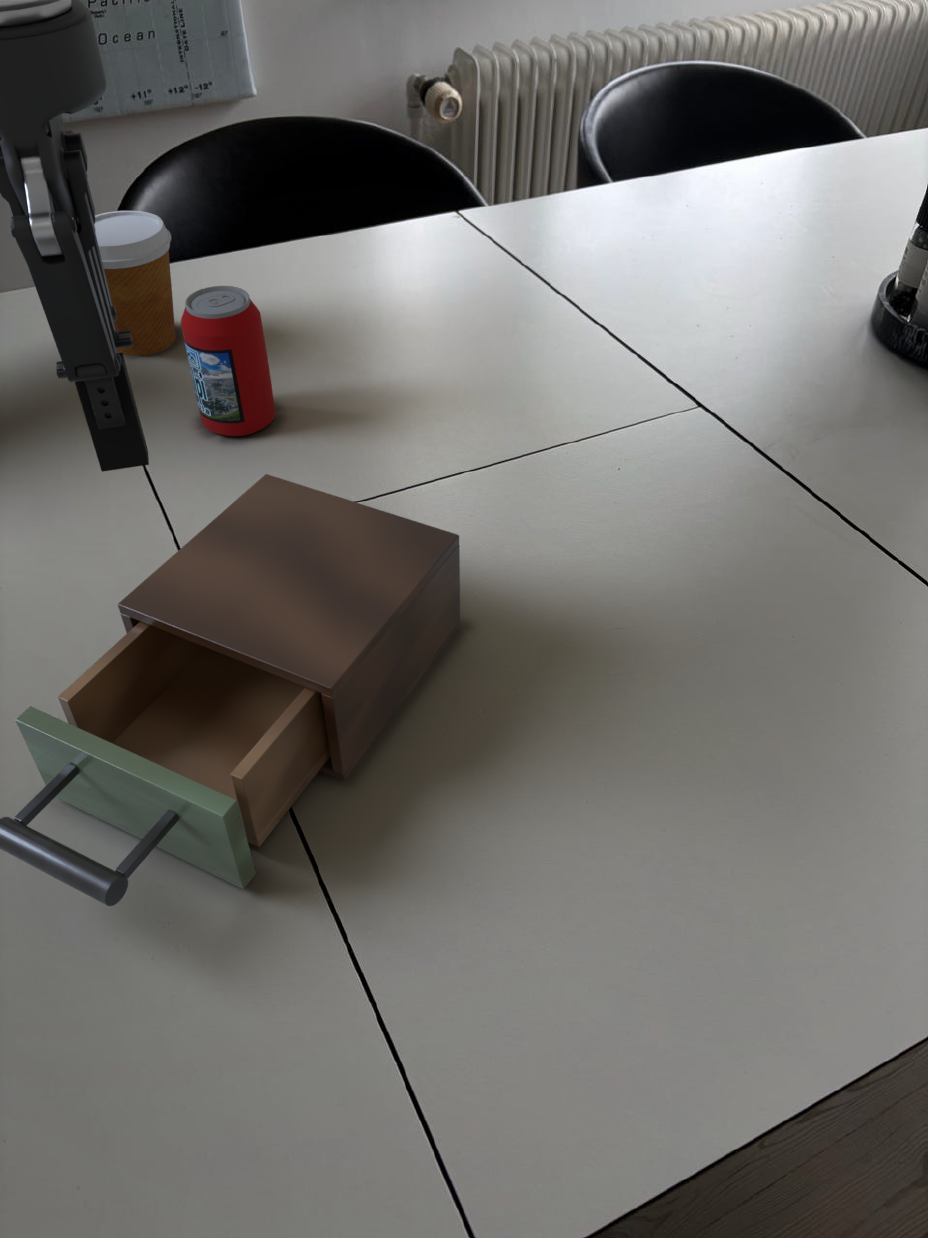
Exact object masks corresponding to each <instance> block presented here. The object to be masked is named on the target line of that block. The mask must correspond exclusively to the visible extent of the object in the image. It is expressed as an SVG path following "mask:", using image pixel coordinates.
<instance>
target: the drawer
mask: <svg viewBox="0 0 928 1238" xmlns="http://www.w3.org/2000/svg"><path fill="white" fill-rule="evenodd" d="M321 694H322V693H320V692H317V691H315V690H312V689H310V688H307V687H305V686H302V685H300V684H297V683H295V682H292V681H290V680H287V679H285V678H282V677H280V676H277V675H275V674H272V673H269V672H267V671H264V670H262V669H259V668H257V667H254V666H252V665H249V664H247V663H244V662H242V661H239V660H237V659H234V658H232V657H229V656H227V655H224V654H222V653H219V652H217V651H214V650H212V649H209V648H207V647H204V646H202V645H199V644H197V643H194V642H192V641H189V640H187V639H184V638H181V637H179V636H176V635H174V634H171V633H169V632H166V631H164V630H161V629H159V628H156V627H154V626H151V625H149V624H146V623H144V622H141V621H140V622H139V623H138V624H137V625H136V626H135V627H134V628H132V629H131V630H130V631H129V632H128V633H126V634H125V635H124V636H123V637H121V638H120V639H119V640H118V641H117V642H116V643H114V645H112V646H111V647H110V648H109V649H108V650H107V651H106V652H105V653H104V654H103V655H102V656H101V657H99V658H98V659H97V661H95V662H94V663H93V664H92V665H91V666H89V667H88V668H87V670H85V671H84V672H83V673H82V674H81V675H79V676H78V678H76V679H75V680H74V681H73V682H72V683H71V684H70V685H69V686H67V688H65V689H64V690H63V691H62V692H61V693H60V694H59V695H58V696H57V700H58V701H59V704H60V707H61V709H62V711H63V714H64V717H65V718H66V721H64V720H63V719H61V718H57V717H56V716H53V715H51V714H49V713H46V712H44V711H42V710H41V709H38V708H36V707H33V706H31V705H30V706H29V707H28V708H26V709H25V710H24V711H23V712H22V713H21V714H19V716H18V717H16V718H15V720H14V721H15V723H16V725H17V727H18V729H19V732H20V733H21V736H22V738H23V740H24V742H25V744H26V746H27V749H28V751H29V753H30V755H31V757H32V760H33V761H34V764H35V766H36V768H37V770H38V773H39V775H40V776H41V779H42V781H43V783H44V785H45V786H44V787H43V788H41V790H40V791H39V792H38V793H37V794H35V796H34V797H33V798H32V799H31V800H30V801H29V802H28V803H27V804H26V805H25V806H24V807H23V808H22V809H20V810H19V812H18V813H17V814H16V815H14V817H10V816H3V817H0V850H1V851H3V852H4V853H7V854H9V855H11V856H12V857H15V859H18V860H20V861H22V862H24V863H26V864H27V865H30V866H31V867H33V868H35V869H37V870H39V871H41V872H43V873H45V874H46V875H48V876H50V877H52V878H54V879H56V880H58V881H60V882H62V883H63V884H65V885H68V886H69V887H71V888H73V889H74V890H77V891H78V892H81V893H82V894H85V895H86V896H88V897H90V898H91V899H94V900H96V901H98V902H100V903H101V904H103V905H105V906H107V907H113V906H116V905H117V904H118V903H119V902H121V901H122V899H123V898H124V896H125V895H126V893H127V890H128V887H129V878H130V877H131V876H132V875H133V873H134V872H135V871H136V870H137V869H138V867H139V866H140V865H141V864H142V863H143V862H144V861H145V859H147V857H148V856H149V855H150V854H151V853H152V851H153V850H154V849H155V848H159V849H160V850H162V851H164V852H167V853H169V854H171V855H173V856H174V857H177V858H178V859H180V860H182V861H185V862H186V863H189V864H191V865H193V866H195V867H197V868H199V869H201V870H203V871H205V872H207V873H209V874H212V875H213V876H215V877H218V878H219V879H221V880H223V881H226V882H228V883H229V884H231V885H234V886H236V887H237V888H240V889H241V890H244V889H245V888H246V887H247V886H248V885H249V883H250V882H251V881H252V879H253V878H254V877H255V875H256V874H257V872H256V868H255V863H254V860H253V857H252V852H251V849H250V845H253V846H255V847H257V848H260V847H261V846H262V844H263V843H264V842H265V841H266V839H267V838H268V837H269V836H270V834H271V833H272V832H273V830H275V828H276V826H278V824H279V823H280V821H281V820H282V819H283V818H284V816H285V815H286V814H287V813H288V811H289V810H290V809H291V808H292V806H293V805H294V803H296V801H297V800H298V799H299V798H300V796H301V795H302V793H303V792H304V791H305V789H306V788H307V787H308V785H310V784H311V782H312V781H313V779H314V778H315V777H316V776H317V774H318V773H319V771H321V770H320V769H321V768H322V766H323V765H324V764H325V763H326V761H327V760H328V759H329V757H330V756H331V755H330V748H329V741H328V735H327V728H326V721H325V715H324V708H323V701H322V695H321ZM55 798H57V799H59V800H61V801H63V802H65V803H67V804H68V805H71V806H73V807H75V808H77V809H79V810H81V811H83V812H85V813H87V814H89V815H91V816H93V817H95V818H97V819H99V820H102V821H103V822H105V823H108V824H110V825H112V826H114V827H115V828H118V829H119V830H122V831H124V832H126V833H127V834H130V835H132V836H134V837H135V838H138V839H140V841H139V842H137V844H136V845H135V846H134V848H133V849H132V850H131V851H129V853H128V854H127V855H126V856H125V858H124V859H123V860H121V862H120V863H119V864H118V866H116V868H115V870H114V869H112V868H110V867H108V866H106V865H104V864H102V863H100V862H99V861H96V860H95V859H92V858H90V857H89V856H86V855H85V854H82V853H80V852H78V851H77V850H75V849H73V848H71V847H68V846H67V845H65V844H63V843H61V842H59V841H58V840H55V839H53V838H51V837H49V836H47V835H45V834H43V833H42V832H39V831H38V830H36V829H34V828H32V827H29V826H28V825H29V824H30V823H31V822H33V820H34V819H35V818H36V817H37V816H38V815H39V814H40V813H41V812H42V811H43V810H44V809H45V808H46V807H47V806H48V805H49V804H50V803H51V802H52V801H53V800H54V799H55ZM249 844H250V845H249Z"/></svg>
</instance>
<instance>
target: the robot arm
mask: <svg viewBox="0 0 928 1238" xmlns="http://www.w3.org/2000/svg"><path fill="white" fill-rule="evenodd" d="M99 48H100V47H99V43H98V38H97V34H96V28H95V25H94V20H93V17H92V12H91V10H90V9H89V8H88V7H86V6H85V4H84V2H82V1H81V0H0V195H1V197H2V198H3V199H4V200H5V201H6V202H7V203H8V204H9V207H10V211H11V214H12V216H11V217H10V227H9V228H10V233H11V236H12V238H14V239H15V241H16V243H17V246H18V247H19V250H20V252H21V254H22V256H23V259H24V261H25V263H26V264H27V267H28V271H29V273H30V275H31V278H32V282H33V284H34V287H35V289H36V292H37V296H38V298H39V301H40V304H41V307H42V310H43V312H44V315H45V318H46V321H47V324H48V326H49V329H50V332H51V334H52V338H53V340H54V343H55V346H56V348H57V351H58V354H59V357H60V360H59V361H56V368H55V369H56V372H55V373H56V376H57V379H67V381H68V382H69V383H74V384H75V388H76V391H77V394H78V398H79V401H80V405H81V407H82V411H83V415H84V417H85V421H86V424H87V427H88V431H89V434H90V437H91V441H92V444H93V448H94V450H95V454H96V457H97V461H98V464H99V467H100V470H101V471H100V472H107V471H108V472H109V471H110V472H111V471H116V470H124V469H129V468H136V467H142V466H149V465H150V458H149V450H148V445H147V442H146V438H145V434H144V430H143V426H142V423H141V419H140V415H139V410H138V407H137V403H136V400H135V399H136V398H135V394H134V391H133V387H132V384H131V380H130V376H129V372H128V368H127V364H126V361H125V357H124V354H123V352H122V353H120V352H117V350H116V348H123V347H131V346H133V342H132V336H131V332H130V330H128V331H120V332H117V331H116V329H115V325H114V323H115V320H116V316H117V313H116V309H115V307H113V305H112V301H111V297H110V293H109V288H108V284H107V280H106V276H105V271H104V267H103V263H102V259H101V254H100V250H99V246H98V242H97V237H96V231H95V225H94V224H95V215H96V208H95V204H94V199H93V196H92V193H91V192H92V191H91V188H90V185H89V180H88V173H87V172H88V155H87V151H86V147H85V143H84V139H83V135H82V133H81V132H74V131H73V130H72V129H66V127H65V122H64V118H63V114H68V115H72V114H76V113H78V112H81V111H83V110H85V109H88V108H89V107H91V106H94V105H95V104H96V103H97V102H98V101H100V100H101V98H102V97H103V96H104V94H105V92H106V89H107V79H106V73H105V69H104V64H103V60H102V56H101V52H100V49H99Z"/></svg>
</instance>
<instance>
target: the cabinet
mask: <svg viewBox="0 0 928 1238" xmlns="http://www.w3.org/2000/svg"><path fill="white" fill-rule="evenodd" d="M460 558H461V556H460V535H459V534H457V533H454V532H452V531H447V530H445V529H441V528H438V527H435V526H431V525H430V524H425V523H422V522H420V521H417V520H413V519H410V518H407V517H404V516H400V515H397V514H394V513H392V512H387V511H385V510H381V509H378V508H375V507H371V506H369V505H365V504H363V503H360V502H356V501H353V500H351V499H350V500H349V499H347V498H343V497H340V496H337V495H334V494H331V493H327V492H324V491H321V490H318V489H315V488H312V487H309V486H306V485H302V484H300V483H296V482H292V481H289V480H287V479H283V478H280V477H277V476H274V475H272V474H271V475H270V474H267V473H265V474H264V475H263V476H262V477H260V478H259V480H257V481H256V482H255V483H254V484H253V485H252V486H251V487H250V488H248V489H247V490H246V491H244V492H243V493H242V494H241V495H240V496H239V497H238V498H237V499H236V500H234V501H233V502H232V503H231V504H229V506H228V507H226V508H225V509H224V510H223V511H221V513H220V514H218V515H217V516H216V517H215V518H214V519H213V520H211V522H209V523H208V524H207V525H206V526H204V528H202V529H201V530H200V531H199V532H197V534H196V535H194V536H193V537H192V538H191V539H190V540H188V541H187V543H185V544H184V545H183V546H182V547H181V548H180V549H179V550H177V551H176V552H175V553H174V554H173V555H171V556H170V557H169V558H168V559H167V560H166V561H165V562H163V564H161V565H160V566H159V567H158V568H156V570H155V571H153V572H152V573H151V574H150V575H149V576H148V577H147V578H145V579H144V580H143V581H142V582H141V583H140V584H139V585H138V586H137V587H135V588H134V589H132V591H130V593H128V594H127V595H126V596H125V597H124V598H122V600H120V601H119V602H118V603H117V607H118V610H119V613H120V617H121V620H122V623H123V626H124V629H125V633H126V634H127V633H128V632H129V631H130V630H131V629H132V628H134V627H135V626H136V625H137V624H138V623H139V622H140V621H141V622H144V623H146V624H149V625H151V626H154V627H156V628H159V629H161V630H164V631H166V632H169V633H171V634H174V635H176V636H179V637H181V638H184V639H187V640H189V641H192V642H194V643H197V644H199V645H202V646H204V647H207V648H209V649H212V650H214V651H217V652H219V653H222V654H224V655H227V656H229V657H232V658H234V659H237V660H239V661H242V662H244V663H247V664H249V665H252V666H254V667H257V668H259V669H262V670H264V671H267V672H269V673H272V674H275V675H277V676H280V677H282V678H285V679H287V680H290V681H292V682H295V683H297V684H300V685H302V686H305V687H307V688H310V689H312V690H315V691H317V692H320V693H322V694H321V695H322V701H323V708H324V715H325V721H326V728H327V735H328V741H329V748H330V755H331V756H330V757H329V759H328V760H327V761H326V763H325V764H324V765H323V766H322V768H321V769H320V770H319V771H321V772H323V773H326V774H328V775H330V776H333V777H335V778H338V779H339V780H342V781H345V780H346V779H347V777H348V776H349V775H350V774H351V772H352V771H353V770H354V768H355V766H356V765H358V763H359V761H360V760H361V759H362V758H363V756H364V755H365V754H366V752H367V751H368V750H369V748H370V747H371V746H372V744H373V743H374V741H376V739H377V738H378V736H379V735H380V733H381V732H382V731H383V730H384V728H385V727H386V726H387V724H388V723H389V722H390V720H391V719H392V718H393V717H394V715H395V714H396V712H397V711H398V710H399V708H400V707H401V706H402V704H403V703H405V701H406V699H407V698H408V696H410V695H411V693H412V691H413V690H414V688H415V687H416V686H417V684H418V683H419V681H420V680H421V679H422V678H423V677H424V675H425V674H426V673H427V671H428V670H429V669H430V668H431V666H432V665H433V663H434V662H435V661H436V659H437V658H438V656H439V655H440V654H441V653H442V651H443V650H444V649H445V648H446V646H447V644H448V643H449V642H450V641H451V639H452V638H453V637H454V635H455V634H456V633H457V632H458V630H459V629H460V627H461V567H460V565H461V564H460V562H461V560H460Z"/></svg>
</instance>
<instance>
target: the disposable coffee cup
mask: <svg viewBox="0 0 928 1238" xmlns="http://www.w3.org/2000/svg"><path fill="white" fill-rule="evenodd" d="M94 225H95V231H96V237H97V242H98V246H99V250H100V254H101V259H102V263H103V267H104V271H105V276H106V280H107V284H108V288H109V293H110V297H111V301H112V305H113V307H115V309H116V313H117V316H116V320H115V323H114V325H115V329H116V331H117V332H120V331H128V330H130V332H131V336H132V342H133V346H131V347H123V348H116V350H117V353H122V352H123V355H126V356H136V357H137V356H140V357H141V356H150V355H152V354H153V355H154V354H157V353H160V352H163V351H164V350H167V349H168V348H170V347H171V346H172V345H173V344H174V343H175V341H176V339H177V336H176V325H175V323H176V322H175V314H174V301H173V300H174V298H173V289H172V276H171V264H170V252H169V251H170V246H171V241H172V234H171V232H170V231H169V229H167V228H166V226H165V223H164V221H163V220H162V218H161V217H160V216H159V215H156V214H154V213H151V212H147V211H142V210H116V211H108V212H103V213H99V214H95V224H94Z"/></svg>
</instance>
